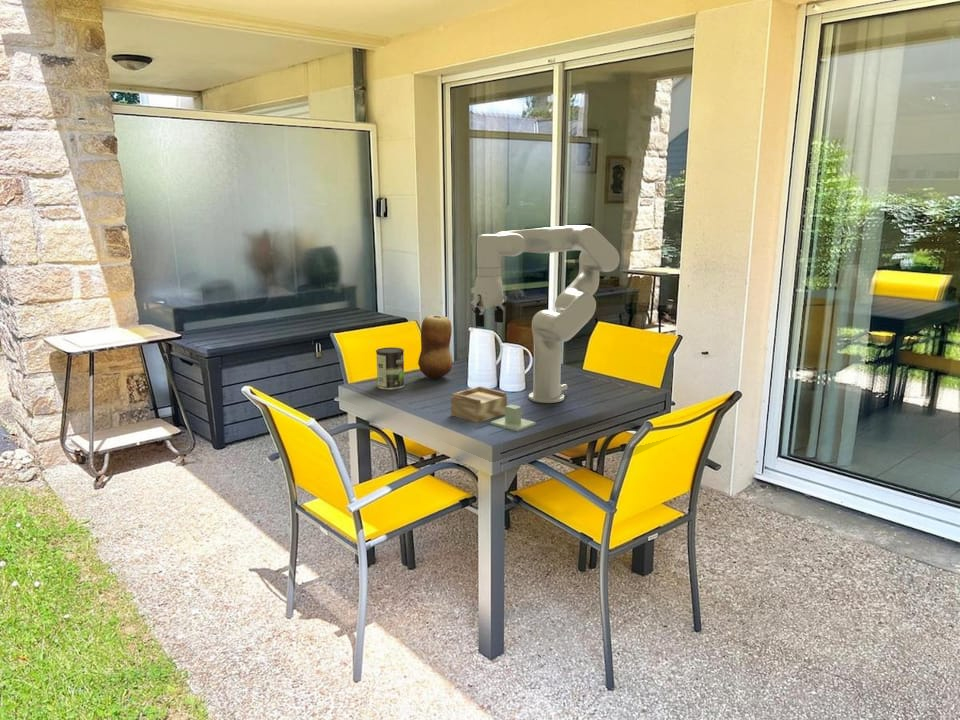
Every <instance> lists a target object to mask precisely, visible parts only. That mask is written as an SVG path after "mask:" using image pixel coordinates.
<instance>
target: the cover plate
mask: <svg viewBox="0 0 960 720" xmlns="http://www.w3.org/2000/svg"><path fill="white" fill-rule="evenodd" d="M492 424H493V426H496V427H501V428H504V429H508V430H511V431H516V432H519V431H523V430H525V429H527V428H528V429H529V428H531V427H533V426H536V424H537V422H536V421H532V420H529V419H526V418H525V419H524V418H522V406H519V405H516V404H515V405H514V404H509V405H508V404H507V406H505V414H504V416H503V417H499V418H497V419H495V420H492V421H490V425H492Z"/></svg>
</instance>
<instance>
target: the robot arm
mask: <svg viewBox="0 0 960 720" xmlns="http://www.w3.org/2000/svg"><path fill="white" fill-rule="evenodd" d="M476 240H477V241H476V242H477V243H476V246H477V247H476V248H477V250H476V251H477V256H476V257H477V277H476V278H475V283H474V289H473V290H474V291H473V292H474V293H473V294H474V295H473V300H472V301H470V305H471V310H472V311H473V314H474V315H475V326H476V327H479V328H483V327H485V314H483V313H484V312H485V310H486V309H490V308H495V309H494V322H495V323H501V324H502V323H504V311H505V307H506V305H507V300H508V296H507V295H506V294H504V290H503V289H504V287H503V281H502V276H501V274H502V272H501V271H502V270H501V257H502V256H503V257H504V256H506V257H517V256H519V255H521V254H523V253H534V254H551V253H560V252H561V253H562V252H570V251H571V252H572V251H581V252H580V253H579V257H578V263H579V265H578V266H579V269H578V274H577V276H576V278H574V280H573V281H572V282H571V283H570V284H569V285H568V286H567V287H566V288H564V290H563V291H562V292H561V293H560V294H559V295H558V296H557V298H555V301H554V308H555V310H556V311H555V310H550V309H543V310H539V311H538V312H536V313H535V314H534V316H533V318H532V320H531V333H532V337H533V376H532V377H533V378H532V379H533V380H532V381H533V382H532V385H533V386H532V387H533V389H532V392H531V393H530V392H529V394H528V399H529V400H530V401H532V402H534V403H541V404H553V403H554V404H555V403H560V402H562V401H564V400H565V395H564V394H563V393H562V391H565V390H567V389H568V384H566V383H565V384H561V370H562V369H561V368H562V367H561V364H562V346H561V343H564V342H565V343H566V342H568V341H570V340H571V339H572V338H574V337H575V336H576V335H577V333H578V332H579V331H581V329H582V328H583V327H584V326H585V325H586V324H587V323H589V321H590V320H591V319H592V318H593V316H594V314H595V312H596V309H597V302H596V299H595V297H594V296H593V295H594V294H596V292H597V290H598V289H599V285H600V272H603V273H610V272H613V271H615V270H616V269H617V268H618V266H619V264H620V258H621V257H620V254H619V251H618V250H617V248H616V247H614V245H612V243H611V242H609V240H608V239H607V238H606V237H605V236H604V235H603V234H601V232H600V231H598V230H597V229H596V228H595V227H593V226H590V225H580V224H577V225H576V224H575V225H574V224H573V225H563V226H552V227H539V228H529V229H521V230H520V229H518V230H517V229H516V230H506V231H498V232H495V233H482V234H480V235H478V236H477V238H476Z"/></svg>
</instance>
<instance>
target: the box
mask: <svg viewBox="0 0 960 720" xmlns="http://www.w3.org/2000/svg"><path fill="white" fill-rule="evenodd" d="M451 394H452V395H451V397H450V415H451V416H452V417H453V416H454V417H456V418H458V419H459V418H460V419H464V420H466V421H470V422H473V423H476V424H478V423H481V422H482V423H483V422H484V421H488V420H490V419H493V418H497V417H500V416H505V406H508V396H507V392H504V391H500V390H496V389H492V388H488V387H485V386H480V385H479V386H475V387H471V388H468V389H465V390H461V391H456V392H452V393H451Z"/></svg>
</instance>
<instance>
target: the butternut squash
mask: <svg viewBox="0 0 960 720" xmlns="http://www.w3.org/2000/svg"><path fill="white" fill-rule="evenodd" d="M421 322H422V323H421V326H420V327H421V329H420V345H421V346H420V353H419V357H418V360H417V361H418V362H417V365H418V366H419V370H420V372H421V373H422V374H423V375H424V376H425V377H426V378H427V379H429V380H435V379H436V380H437V379H442V378H444V377H445V376H447V375H449V373H450V372H451V370H452V368H453V357H452V354H451V349H450V345H451V344H450V343H451V338H452V335H453V334H452V333H453V331H452V327H453V326H452V321H451V320H450V318H449V317H447V316H444V315H437V314H431V315H427V316H425V317H424V318H423V319H422V321H421Z"/></svg>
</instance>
